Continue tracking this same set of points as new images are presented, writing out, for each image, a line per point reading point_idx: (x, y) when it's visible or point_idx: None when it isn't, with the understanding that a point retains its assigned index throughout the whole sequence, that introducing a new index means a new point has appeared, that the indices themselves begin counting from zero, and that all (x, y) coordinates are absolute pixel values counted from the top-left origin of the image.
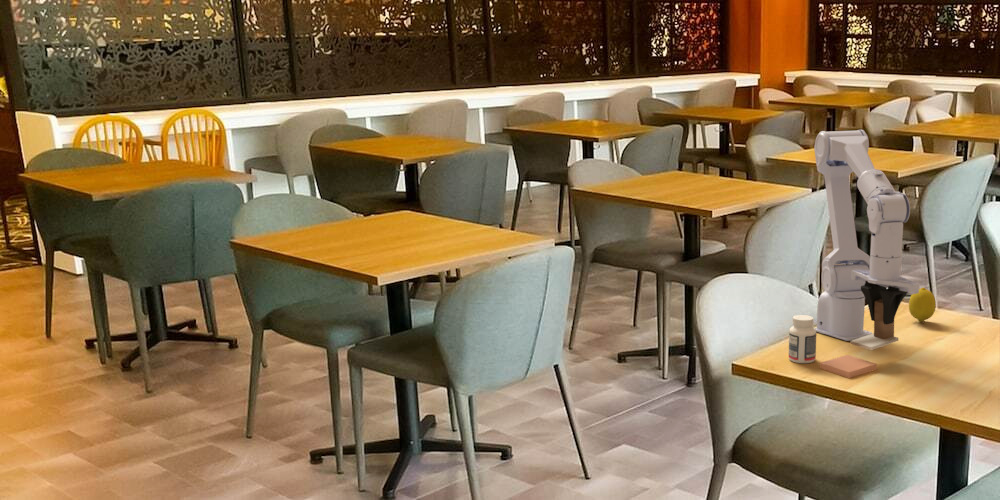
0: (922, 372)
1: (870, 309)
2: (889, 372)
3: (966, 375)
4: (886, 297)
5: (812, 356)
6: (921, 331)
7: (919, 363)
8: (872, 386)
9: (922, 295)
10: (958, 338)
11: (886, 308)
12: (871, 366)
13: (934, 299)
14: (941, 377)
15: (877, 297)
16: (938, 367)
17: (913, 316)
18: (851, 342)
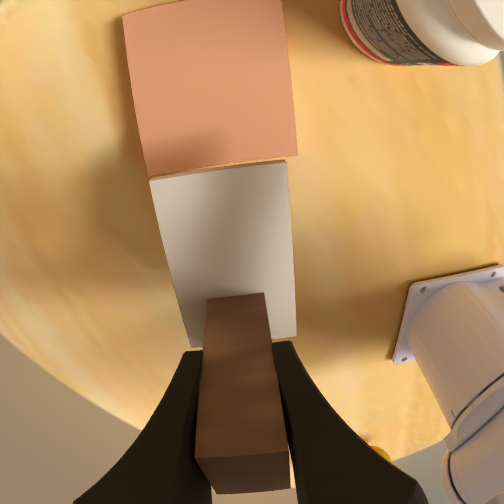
0: (83, 276)
1: (300, 386)
2: (111, 190)
3: (47, 338)
4: (112, 499)
5: (347, 10)
6: None
7: (151, 321)
8: (35, 53)
9: None
10: None
11: (154, 427)
12: (143, 145)
13: None
14: (41, 287)
15: (298, 479)
16: (108, 334)
17: (372, 447)
18: (280, 162)
